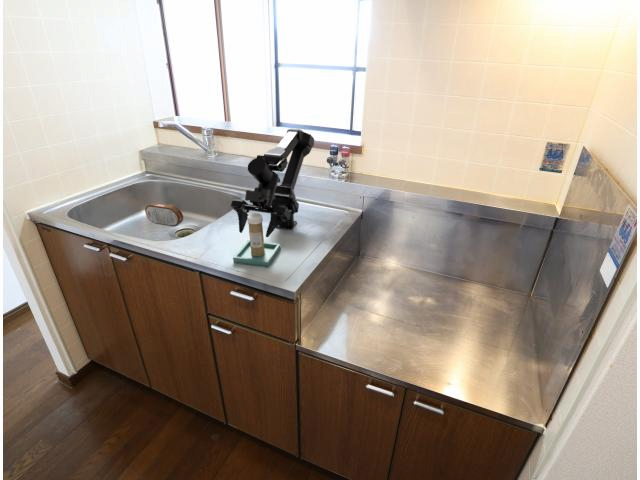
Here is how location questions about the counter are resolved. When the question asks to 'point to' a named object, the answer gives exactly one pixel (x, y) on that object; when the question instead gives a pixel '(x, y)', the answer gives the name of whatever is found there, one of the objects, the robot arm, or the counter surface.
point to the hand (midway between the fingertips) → (253, 234)
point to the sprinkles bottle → (256, 234)
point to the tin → (164, 214)
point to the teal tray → (262, 261)
